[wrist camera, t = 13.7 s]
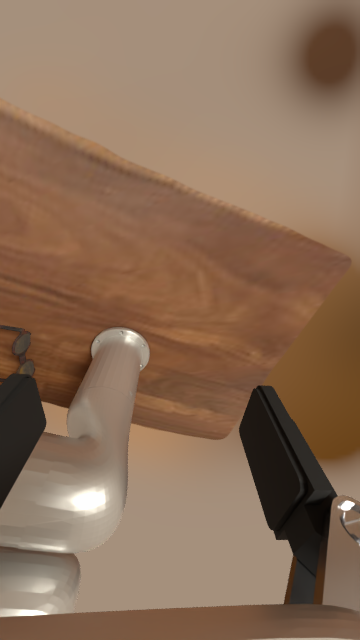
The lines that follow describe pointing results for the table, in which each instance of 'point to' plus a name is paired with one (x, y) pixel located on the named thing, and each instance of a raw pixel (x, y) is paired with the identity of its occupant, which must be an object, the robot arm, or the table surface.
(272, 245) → the table surface
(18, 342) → the eyeglasses
